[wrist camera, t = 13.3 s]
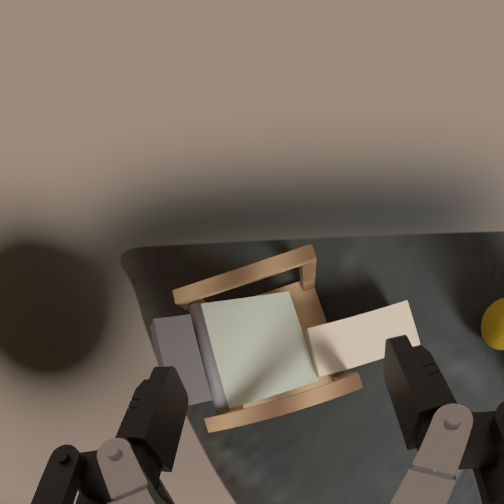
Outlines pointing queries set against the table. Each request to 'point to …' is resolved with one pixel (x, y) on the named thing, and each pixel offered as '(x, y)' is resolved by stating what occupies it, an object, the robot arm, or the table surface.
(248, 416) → the frame
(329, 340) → the block
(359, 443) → the table surface
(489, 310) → the lemon
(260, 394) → the door
